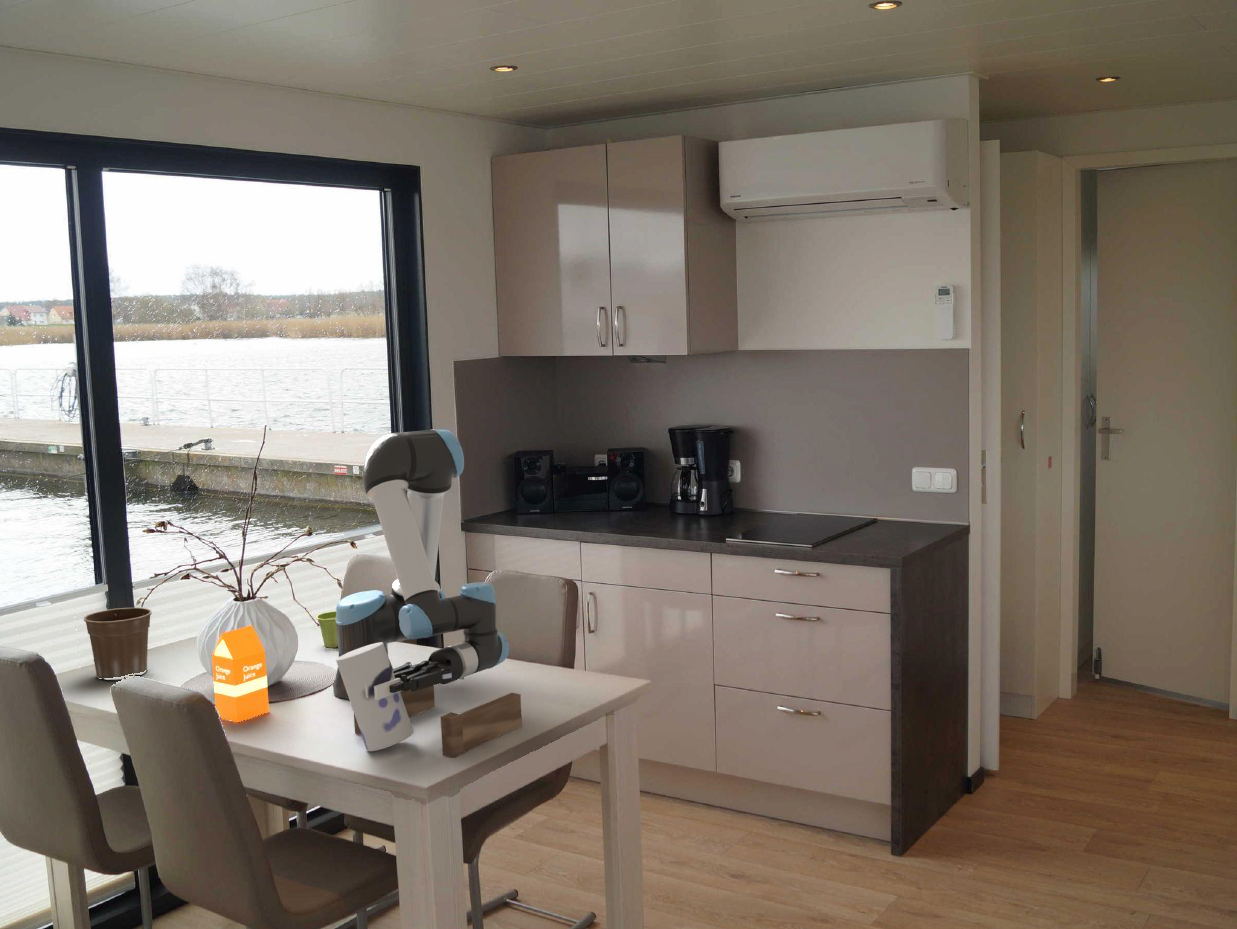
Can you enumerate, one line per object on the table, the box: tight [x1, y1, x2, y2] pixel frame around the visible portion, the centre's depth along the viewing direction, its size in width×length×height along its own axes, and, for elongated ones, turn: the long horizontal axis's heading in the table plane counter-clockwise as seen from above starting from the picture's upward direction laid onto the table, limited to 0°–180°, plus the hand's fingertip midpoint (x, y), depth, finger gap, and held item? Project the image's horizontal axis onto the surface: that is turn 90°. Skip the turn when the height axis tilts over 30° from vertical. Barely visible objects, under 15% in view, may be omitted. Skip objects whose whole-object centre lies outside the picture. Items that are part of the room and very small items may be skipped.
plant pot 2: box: [315, 610, 338, 649], centre depth 318 cm, size 9×9×9 cm
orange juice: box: [211, 624, 270, 723], centre depth 258 cm, size 8×9×20 cm
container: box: [335, 642, 415, 752], centre depth 233 cm, size 10×10×20 cm
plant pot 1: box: [83, 607, 153, 678], centre depth 295 cm, size 16×16×16 cm
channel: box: [353, 685, 523, 758], centre depth 244 cm, size 29×22×8 cm
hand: (370, 692), depth 228 cm, fingers open, 2 cm apart
